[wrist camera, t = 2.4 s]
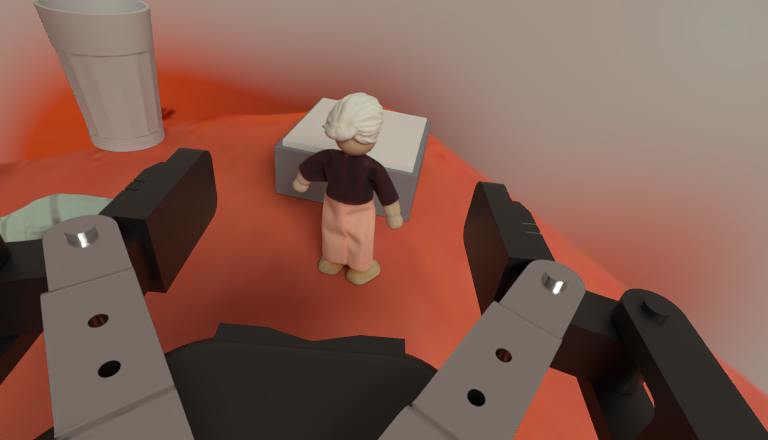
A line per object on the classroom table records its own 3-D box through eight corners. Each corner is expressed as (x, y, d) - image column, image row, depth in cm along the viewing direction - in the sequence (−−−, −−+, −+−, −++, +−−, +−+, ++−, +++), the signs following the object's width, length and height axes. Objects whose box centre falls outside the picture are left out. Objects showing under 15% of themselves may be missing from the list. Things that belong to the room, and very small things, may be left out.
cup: (71, 157, 36) (16, 8, 29) (91, 120, 42) (50, -11, 35) (170, 154, 39) (143, 17, 31) (176, 120, 44) (154, -2, 37)
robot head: (159, 251, 28) (137, 166, 24) (168, 291, 25) (145, 202, 21) (11, 283, 24) (-44, 189, 20) (3, 334, 22) (-63, 237, 18)
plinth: (275, 192, 36) (274, 141, 33) (318, 138, 45) (320, 95, 42) (408, 221, 35) (418, 171, 32) (422, 160, 44) (432, 117, 42)
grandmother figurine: (397, 259, 31) (430, 96, 23) (387, 295, 28) (422, 120, 20) (300, 237, 31) (303, 71, 24) (281, 269, 28) (276, 91, 21)
